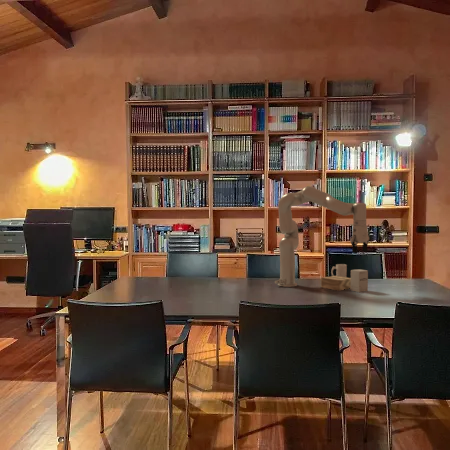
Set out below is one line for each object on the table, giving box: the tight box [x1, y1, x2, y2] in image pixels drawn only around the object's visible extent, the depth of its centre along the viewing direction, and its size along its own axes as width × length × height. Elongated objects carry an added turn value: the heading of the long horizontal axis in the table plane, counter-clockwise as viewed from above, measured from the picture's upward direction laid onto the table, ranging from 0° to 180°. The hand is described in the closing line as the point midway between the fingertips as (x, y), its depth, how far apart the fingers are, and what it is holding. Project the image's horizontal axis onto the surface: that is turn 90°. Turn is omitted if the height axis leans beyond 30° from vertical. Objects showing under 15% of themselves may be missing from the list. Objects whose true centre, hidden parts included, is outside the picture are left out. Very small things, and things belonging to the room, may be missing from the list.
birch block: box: [320, 275, 351, 291], centre depth 288 cm, size 14×14×6 cm
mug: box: [330, 263, 348, 277], centre depth 306 cm, size 10×7×12 cm, turn 84°
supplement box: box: [350, 268, 369, 293], centre depth 277 cm, size 7×7×13 cm
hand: (359, 251), depth 276 cm, fingers open, 9 cm apart
